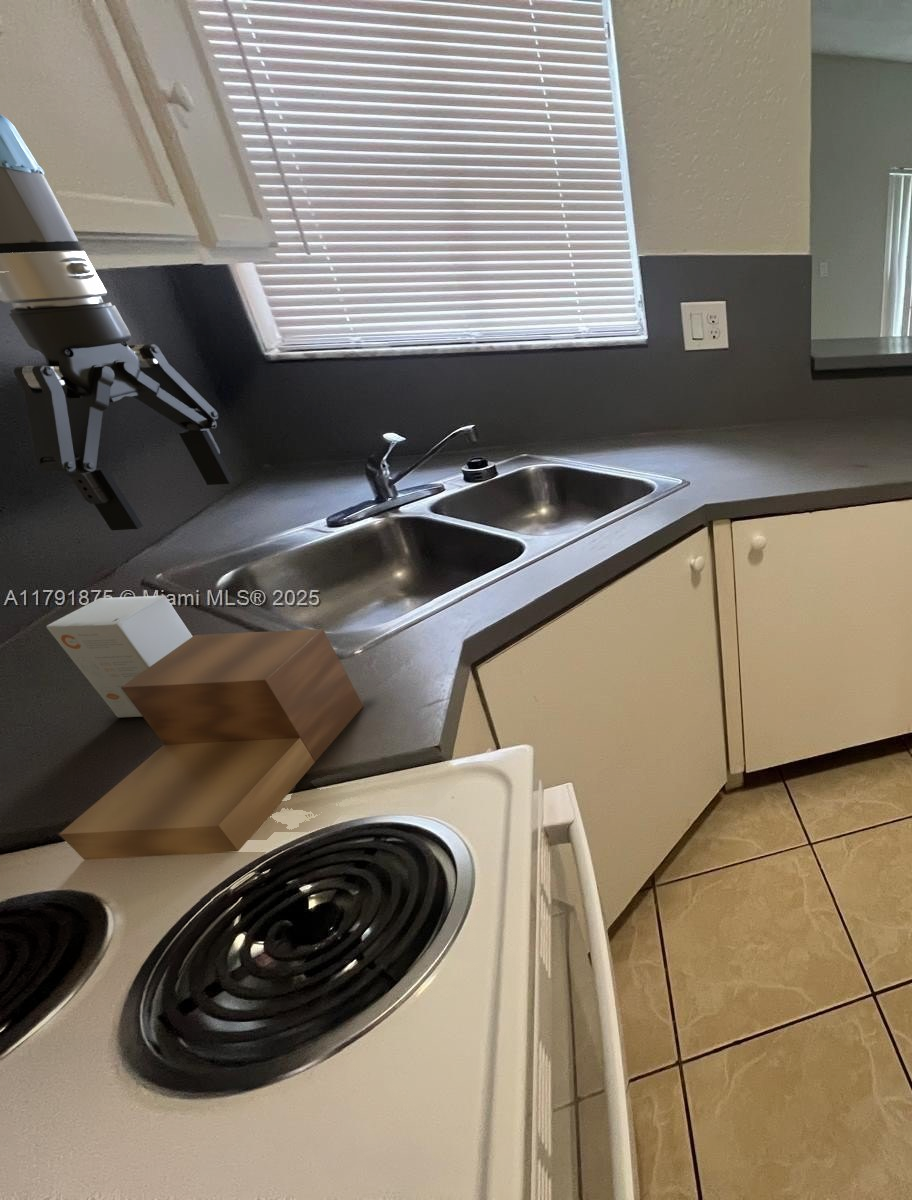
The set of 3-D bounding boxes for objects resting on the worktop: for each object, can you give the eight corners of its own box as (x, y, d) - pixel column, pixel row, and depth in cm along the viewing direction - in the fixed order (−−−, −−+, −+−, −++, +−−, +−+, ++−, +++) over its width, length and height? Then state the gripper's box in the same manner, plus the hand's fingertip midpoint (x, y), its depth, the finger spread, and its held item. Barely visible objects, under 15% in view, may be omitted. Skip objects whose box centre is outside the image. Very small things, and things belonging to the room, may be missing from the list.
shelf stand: (83, 859, 57) (-2, 773, 51) (245, 712, 74) (194, 634, 68) (238, 851, 57) (170, 764, 51) (363, 706, 74) (323, 628, 68)
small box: (225, 682, 79) (167, 594, 72) (182, 717, 74) (115, 624, 67) (163, 684, 79) (99, 596, 72) (115, 718, 74) (42, 626, 67)
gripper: (-38, 316, 51) (117, 549, 62) (195, 290, 73) (280, 466, 84) (-134, 321, 51) (39, 554, 62) (128, 293, 72) (222, 470, 83)
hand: (178, 504), depth 73 cm, fingers open, 13 cm apart
